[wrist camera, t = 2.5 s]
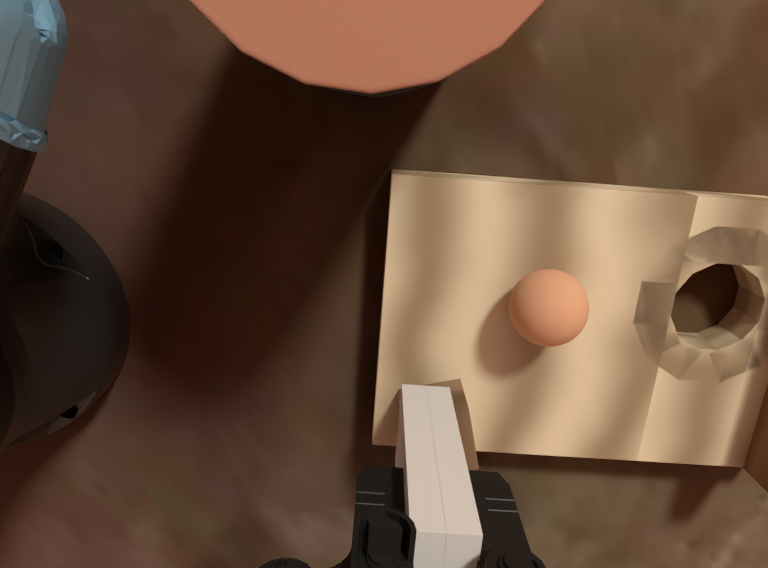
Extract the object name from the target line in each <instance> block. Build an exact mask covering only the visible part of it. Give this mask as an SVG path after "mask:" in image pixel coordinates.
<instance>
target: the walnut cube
mask: <svg viewBox="0 0 768 568" xmlns="http://www.w3.org/2000/svg"><path fill="white" fill-rule="evenodd" d="M423 386H439V387H450V391H451V396H452V400H453V405H454V409H455V414H456V418H457V422H458V427H459V431H460V436H461V440H462V445H463V449H464V453H465V458H466V462H467V467H468V471H470V470H476V469H479V466H478V460H477V454H476V448H475V442H474V436H473V430H472V424H471V418H470V412H469V408H468V404H467V401H466V397H465V393H464V390H463V386H462V383H461V379H454V380H449V381H443V382H437V383H431V384H426V385H423ZM400 399H401V389H399V404H400Z"/></svg>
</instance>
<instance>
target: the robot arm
mask: <svg viewBox="0 0 768 568" xmlns="http://www.w3.org/2000/svg"><path fill="white" fill-rule="evenodd" d="M67 45H68V27H67V21H66V17H65V14H64V11H63V9H62V7H61V4H60V2H59V0H0V454H2V453H4V452H7V451H9V450H12V449H14V448H17V447H19V446H22V445H24V444H27V443H29V442H32V441H34V440H37V439H39V438H42V437H44V436H47V435H49V434H51V433H54V432H56V431H58V430H60V429H62V428H64V427H65V426H67V425H69V424H70V423H72V422H73V421H75V420H76V419H77V418H79V417H80V416H81V415H83V414H84V413H85V412H86V411H87V410H88V409H89V408H90V407H91V406H92V405H93V404H94V403H95V402H96V401H97V400H98V399H99V398H100V397H101V396H102V395H103V394H104V392H105V391H106V390H107V389H108V388H109V387H110V385H111V384H112V383H113V381H114V380H115V378H116V377H117V375H118V373H119V371H120V369H121V367H122V365H123V362H124V359H125V356H126V353H127V348H128V343H129V333H130V320H129V311H128V305H127V301H126V297H125V293H124V290H123V287H122V285H121V282H120V280H119V277H118V275H117V273H116V271H115V269H114V267H113V266H112V264H111V262H110V261H109V259H108V258H107V256H106V255H105V253H104V252H103V250H102V249H101V248H100V247H99V245H98V244H97V243H96V242H95V241H94V239H93V238H92V237H91V236H90V235H89V234H88V233H87V232H86V231H85V230H84V229H83V228H82V227H81V226H80V225H78V224H77V223H76V222H75V221H74V220H72V219H71V218H70V217H68V216H67V215H66V214H64V213H63V212H61V211H60V210H58V209H57V208H55V207H53V206H51V205H50V204H48V203H46V202H44V201H42V200H40V199H38V198H35V197H33V196H30V195H28V194H25V193H22V192H23V189H24V187H25V184H26V181H27V179H28V176H29V173H30V171H31V168H32V166H33V163H34V160H35V158H36V155H37V152H43V151H44V149H45V147H46V145H47V141H48V133H47V131H46V129H45V126H46V122H47V118H48V115H49V111H50V107H51V103H52V100H53V96H54V92H55V88H56V85H57V81H58V78H59V75H60V72H61V68H62V65H63V62H64V58H65V55H66V51H67ZM259 568H311V567H310V566H309V565H308V564H307V563H304V562H302V561H300V560H298V559H293V558H280V559H275V560H271V561H269V562H267V563H265V564H263V565H261V566H260V567H259ZM331 568H546V567H545V566H544V564H543V562H542V561H541V560H540V559H539V558H538V557H537V556H535V555H534V554H533V553H531V550H530V547H529V544H528V541H527V538H526V535H525V532H524V529H523V526H522V523H521V520H520V516H519V513H517V507H516V504H515V501H514V498H513V495H512V492H511V489H510V486H509V484H508V483H507V482H506V481H505V480H504V479H503V478H502V477H501V475H500V474H499V473H498V472H483V471H468V467H467V462H466V458H465V453H464V449H463V445H462V440H461V436H460V431H459V427H458V422H457V418H456V414H455V409H454V405H453V400H452V396H451V391H450V387H439V386H423V385H408V384H402V387H401V399H400V410H399V421H398V432H397V444H396V455H395V467H382V466H365V468H364V469H363V470H362V471H361V473H360V474H359V475H358V477H357V489H356V502H355V516H354V526H353V538H352V548H351V551H350V553H349V554H348V556H347V557H346V558H345V559H344V560H343V561H342V562H341V563H339V564H337V565H335V566H334V567H331Z"/></svg>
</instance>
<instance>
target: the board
mask: <svg viewBox="0 0 768 568" xmlns="http://www.w3.org/2000/svg"><path fill="white" fill-rule="evenodd" d="M716 263H720V264H731V265H732V266H733V269H734V272H735V275H736V278H737V281H738V284H739V287H738V291H737V295H736V299H735V302H734V306H733V308H732V309H731V310H730V311H729V312H728V313H727V314H726V315H725V317H724V318H723V319H722V320H721V321H720V322H719V323H718V324H717V325H714V326H712V327H710V328H707V329H705V330H703V331H700V332H698V333H685V332H676V330H675V327H674V324H673V322H672V319H671V312H672V307H673V303H674V299H675V294H676V292H677V291H678V290H679V289H680V288H681V286H682V285H683V284H684V283H685V282H686V281H687V280H688V278H689V277H690V276H691V275H692V274H693V273H695V272H698V271H700V270H702V269H705V268H707V267H709V266H711V265H714V264H716ZM543 269H554V270H559V271H563V272H565V273H567V274H569V275H571V276H572V277H574V278H575V279H576V280H577V281H578V282H579V283H580V284H581V285H582V287H583V288H584V290H585V292H586V294H587V297H588V301H589V316H588V320H587V322H586V325H585V326H584V328H583V330H582V331H581V332H580V333H579V335H578V336H576V337H575V338H574V339H573V340H571V341H570V342H568V343H565V344H563V345H559V346H553V347H545V346H540V345H536V344H533V343H531V342H529V341H528V340H526V339H525V338H523V337H522V336H521V335H520V334H519V333H518V332H517V330H516V329H515V328H514V326H513V324H512V322H511V319H510V315H509V300H510V296H511V293H512V291H513V289H514V288H515V286H516V285H517V283H518V282H519V281H520V280H521V279H522V278H524V277H525V276H526V275H528V274H530V273H532V272H535V271H538V270H543ZM454 379H461V383H462V386H463V390H464V393H465V397H466V401H467V404H468V408H469V412H470V418H471V424H472V430H473V436H474V442H475V448H476V451H483V452H500V453H516V454H533V455H549V456H565V457H582V458H598V459H615V460H631V461H648V462H664V463H680V464H697V465H713V466H730V467H743V468H744V469H745V470H746V471H747V472H748V473H749V474H750V475H751V476H752V477H753V478H754V479H755V480H756V481H757V482H758V483H759V484H760V485H761V486H762V487H763V488H764V489H765V490H766V491H767V492H768V196H761V195H747V194H733V193H719V192H705V191H691V190H677V189H663V188H650V187H636V186H622V185H608V184H594V183H580V182H566V181H552V180H538V179H524V178H510V177H497V176H483V175H469V174H455V173H441V172H427V171H413V170H399V169H391V183H390V196H389V210H388V223H387V237H386V250H385V264H384V277H383V291H382V304H381V318H380V331H379V345H378V358H377V372H376V385H375V399H374V412H373V430H372V445H385V446H396V444H397V432H398V421H399V410H400V404H399V389H401V387H402V384H408V385H426V384H431V383H437V382H443V381H449V380H454Z"/></svg>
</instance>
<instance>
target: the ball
mask: <svg viewBox="0 0 768 568" xmlns="http://www.w3.org/2000/svg"><path fill="white" fill-rule="evenodd" d="M509 315H510V319H511V322H512V324H513V326H514V328H515V329H516V330H517V332H518V333H519V334H520V335H521V336H522V337H523V338H525V339H526V340H528V341H529V342H531V343H533V344H536V345H540V346H545V347H553V346H559V345H563V344H565V343H568V342H570V341H571V340H573V339H574V338H575V337H576V336H578V335H579V333H580V332H581V331H582V330H583V328H584V326H585V325H586V322H587V320H588V316H589V301H588V297H587V294H586V292H585V290H584V288H583V287H582V285H581V284H580V283H579V282H578V281H577V280H576V279H575V278H574V277H572V276H571V275H569V274H567V273H565V272H563V271H559V270H554V269H543V270H538V271H535V272H532V273H530V274H528V275H526V276H525V277H524V278H522V279H521V280H520V281H519V282H518V283H517V285H516V286H515V288H514V289H513V291H512V293H511V296H510V300H509Z"/></svg>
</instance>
